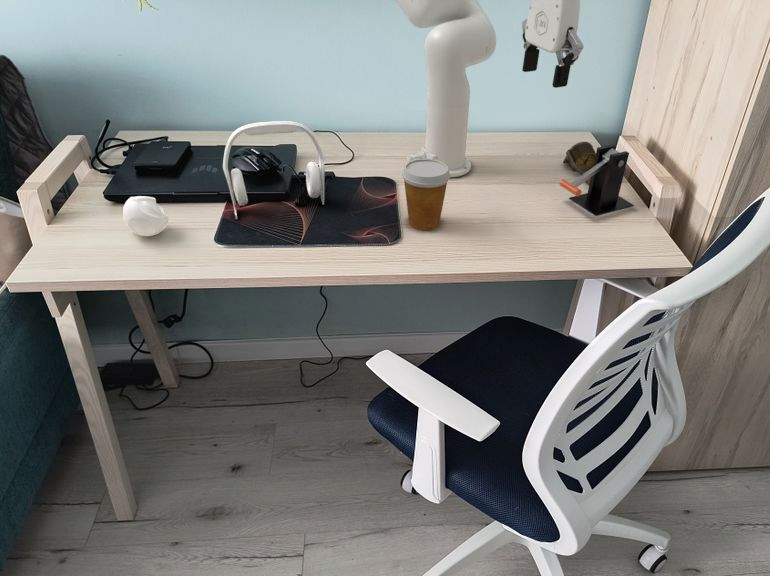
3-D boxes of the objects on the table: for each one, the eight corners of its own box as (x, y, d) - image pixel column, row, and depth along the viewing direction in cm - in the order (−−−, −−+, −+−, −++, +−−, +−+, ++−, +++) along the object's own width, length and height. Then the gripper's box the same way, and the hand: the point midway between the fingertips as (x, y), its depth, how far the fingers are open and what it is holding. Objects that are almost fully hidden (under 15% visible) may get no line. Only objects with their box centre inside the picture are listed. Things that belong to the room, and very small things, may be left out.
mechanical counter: (609, 146, 154) (570, 133, 153) (617, 162, 143) (575, 149, 142) (597, 174, 158) (559, 162, 157) (603, 192, 147) (562, 179, 146)
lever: (577, 199, 132) (575, 190, 130) (560, 188, 135) (558, 179, 134) (626, 164, 133) (624, 154, 131) (608, 154, 137) (606, 145, 135)
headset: (323, 194, 139) (317, 112, 128) (330, 209, 134) (325, 124, 123) (229, 204, 134) (214, 119, 122) (232, 220, 129) (217, 133, 117)
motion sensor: (175, 238, 122) (166, 201, 117) (134, 247, 119) (123, 210, 114) (164, 220, 127) (155, 184, 122) (124, 229, 124) (113, 192, 119)
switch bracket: (594, 220, 136) (607, 162, 127) (567, 202, 142) (578, 146, 133) (632, 209, 140) (647, 153, 132) (605, 193, 146) (618, 138, 138)
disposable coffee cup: (453, 217, 134) (456, 162, 126) (438, 238, 127) (441, 181, 119) (410, 208, 136) (411, 154, 128) (393, 228, 129) (394, 172, 121)
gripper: (515, -30, 118) (503, 67, 130) (575, -9, 107) (556, 95, 118) (547, -31, 122) (533, 63, 133) (608, -11, 111) (587, 90, 122)
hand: (544, 78), depth 126 cm, fingers open, 9 cm apart
